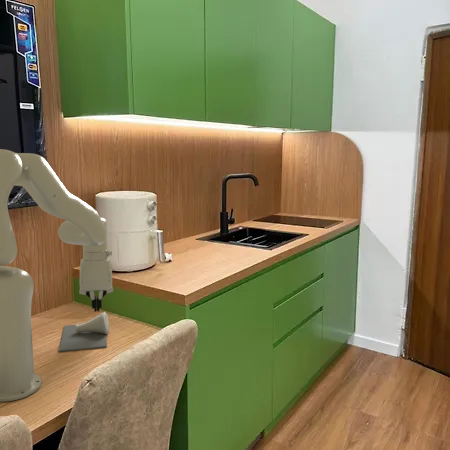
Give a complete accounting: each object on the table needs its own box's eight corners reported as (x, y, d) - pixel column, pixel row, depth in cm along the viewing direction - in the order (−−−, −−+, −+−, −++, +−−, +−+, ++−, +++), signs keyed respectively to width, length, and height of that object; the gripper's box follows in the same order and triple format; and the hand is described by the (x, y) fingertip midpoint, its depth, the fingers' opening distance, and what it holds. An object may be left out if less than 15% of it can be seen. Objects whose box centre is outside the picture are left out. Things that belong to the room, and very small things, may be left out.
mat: (58, 352, 129) (58, 350, 129) (64, 327, 148) (64, 325, 148) (106, 347, 133) (106, 345, 133) (106, 323, 152) (106, 322, 152)
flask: (103, 321, 138) (72, 327, 137) (109, 338, 141) (78, 344, 140) (105, 307, 144) (75, 313, 143) (110, 324, 147) (81, 330, 147)
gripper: (118, 252, 143) (120, 304, 146) (71, 254, 139) (73, 308, 142) (119, 257, 136) (120, 312, 139) (69, 259, 132) (72, 316, 135)
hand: (96, 310), depth 140 cm, fingers closed
